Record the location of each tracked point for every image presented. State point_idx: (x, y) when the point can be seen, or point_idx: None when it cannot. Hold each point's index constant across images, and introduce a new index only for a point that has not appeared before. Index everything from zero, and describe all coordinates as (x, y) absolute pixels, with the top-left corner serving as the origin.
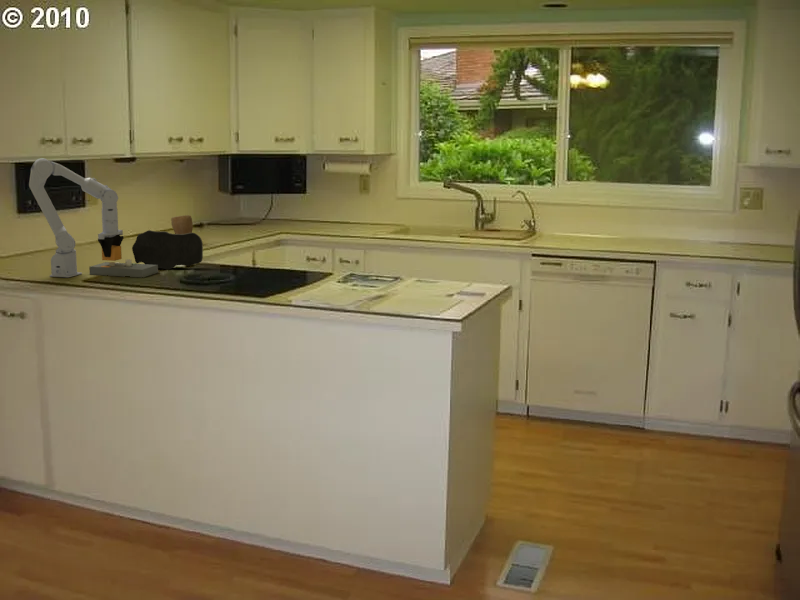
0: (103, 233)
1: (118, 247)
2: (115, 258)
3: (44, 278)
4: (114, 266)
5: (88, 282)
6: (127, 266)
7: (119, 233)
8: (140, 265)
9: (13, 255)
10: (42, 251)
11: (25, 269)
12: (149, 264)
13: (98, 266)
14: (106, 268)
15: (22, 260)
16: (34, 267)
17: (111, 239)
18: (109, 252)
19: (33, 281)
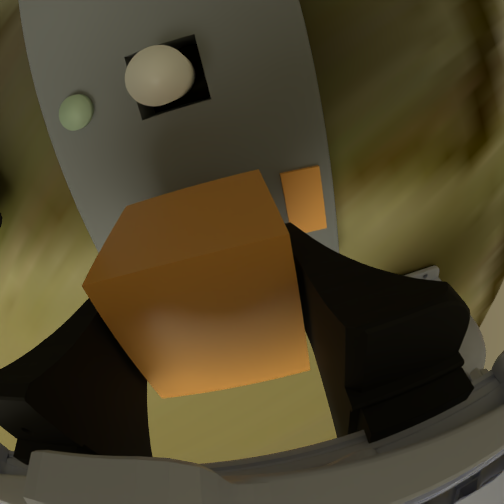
0: (480, 467)
1: (151, 261)
2: (241, 180)
3: None
4: (255, 156)
5: (496, 110)
6: (191, 66)
7: (125, 485)
8: (89, 29)
9: None
10: None
11: (312, 439)
12: (22, 27)
13: None
14: (329, 169)
15: None
16: (273, 447)
17: (405, 335)
18: (313, 240)
19: (493, 295)
